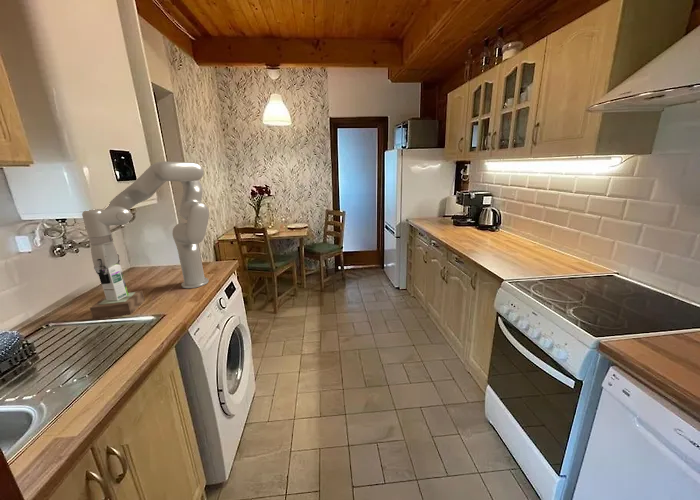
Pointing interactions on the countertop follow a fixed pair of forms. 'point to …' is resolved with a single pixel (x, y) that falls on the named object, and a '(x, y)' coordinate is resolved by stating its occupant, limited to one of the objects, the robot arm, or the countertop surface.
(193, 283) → the robot arm
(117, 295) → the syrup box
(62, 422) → the countertop surface
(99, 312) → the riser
